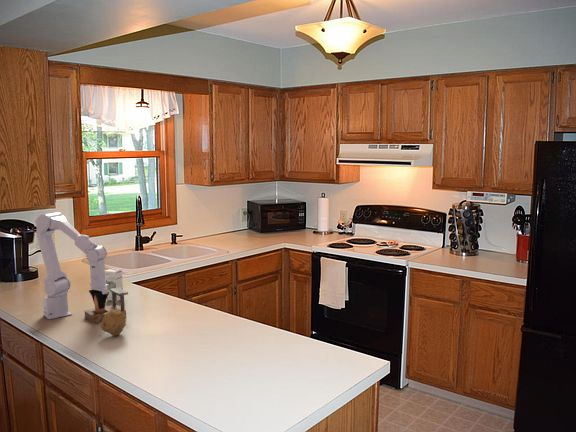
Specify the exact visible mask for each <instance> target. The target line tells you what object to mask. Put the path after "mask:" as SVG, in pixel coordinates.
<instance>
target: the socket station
mask: <svg viewBox="0 0 576 432" xmlns="http://www.w3.org/2000/svg"><path fill="white" fill-rule="evenodd" d="M110 292H112V301H111V302H112V305H105V312H103V313H95V308H92V309H87V310H84V318H85V319H86V320H88V321H89V322H90V323H92V324H93V325H98V324H101V322H102V320H103V318H104V316H105V314H106V313H108V312H109V311H112V310H117V311H121V312H122V313H123V314H124V315H125V317H126V318H127V309H126V308H125V296H126V295H129V292H128V291H127V290H125V289H124V288H123V289H121V288H119V287H118V288H112V289H110ZM116 295H118V296H120V300H119V301H120V303H119V304H120V306H119V305H118V304H117V301H116Z"/></svg>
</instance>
